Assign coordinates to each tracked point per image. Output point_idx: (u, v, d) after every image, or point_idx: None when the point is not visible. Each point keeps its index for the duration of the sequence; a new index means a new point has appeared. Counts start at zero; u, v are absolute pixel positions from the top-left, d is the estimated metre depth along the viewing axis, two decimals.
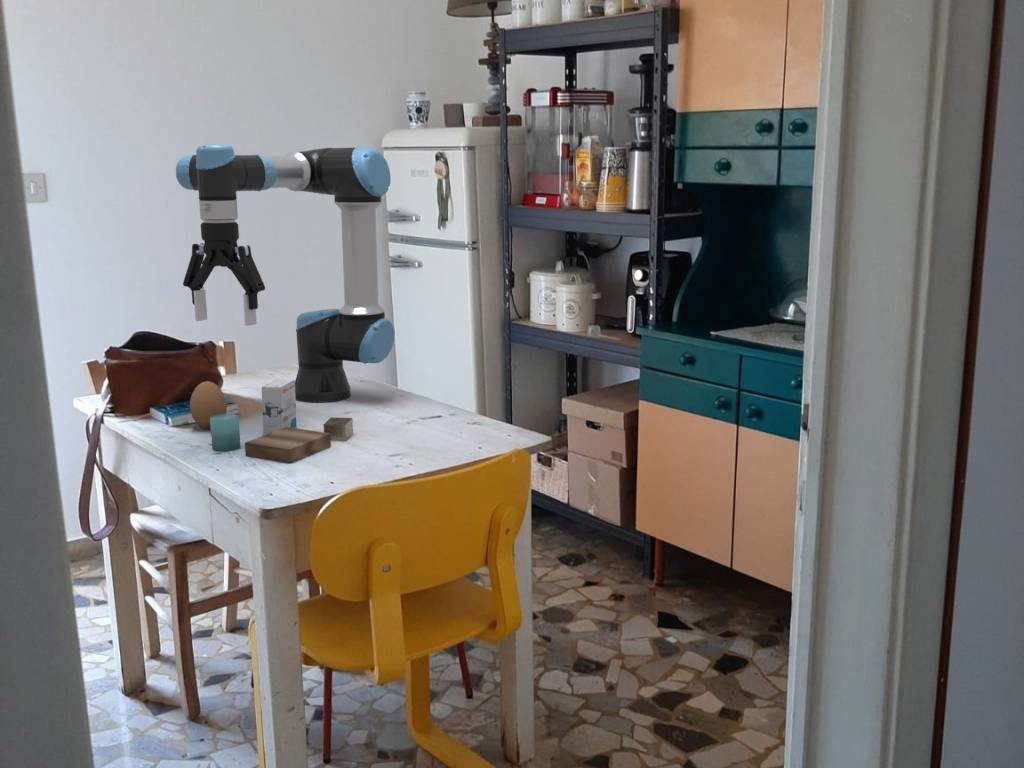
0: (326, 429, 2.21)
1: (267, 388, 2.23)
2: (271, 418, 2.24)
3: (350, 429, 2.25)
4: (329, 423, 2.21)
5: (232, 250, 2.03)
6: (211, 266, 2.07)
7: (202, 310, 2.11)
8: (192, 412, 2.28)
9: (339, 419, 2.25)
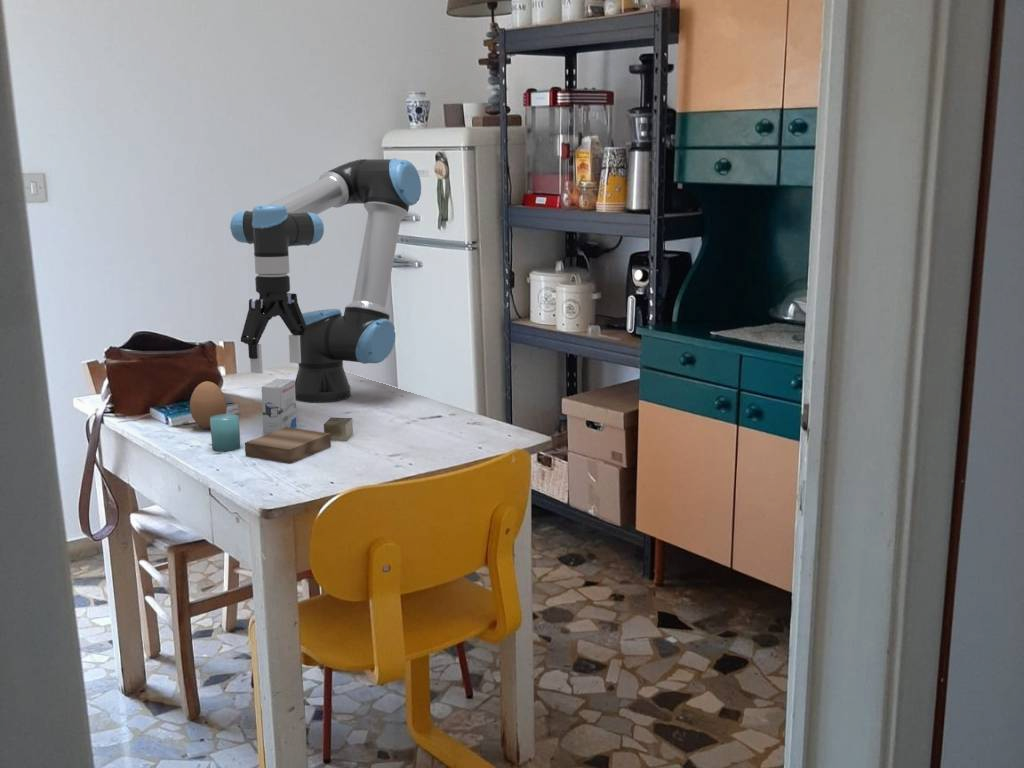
0: (326, 429, 2.21)
1: (267, 388, 2.23)
2: (271, 418, 2.24)
3: (350, 429, 2.25)
4: (329, 423, 2.21)
5: None
6: (283, 315, 2.26)
7: (294, 353, 2.31)
8: (192, 412, 2.28)
9: (339, 419, 2.25)
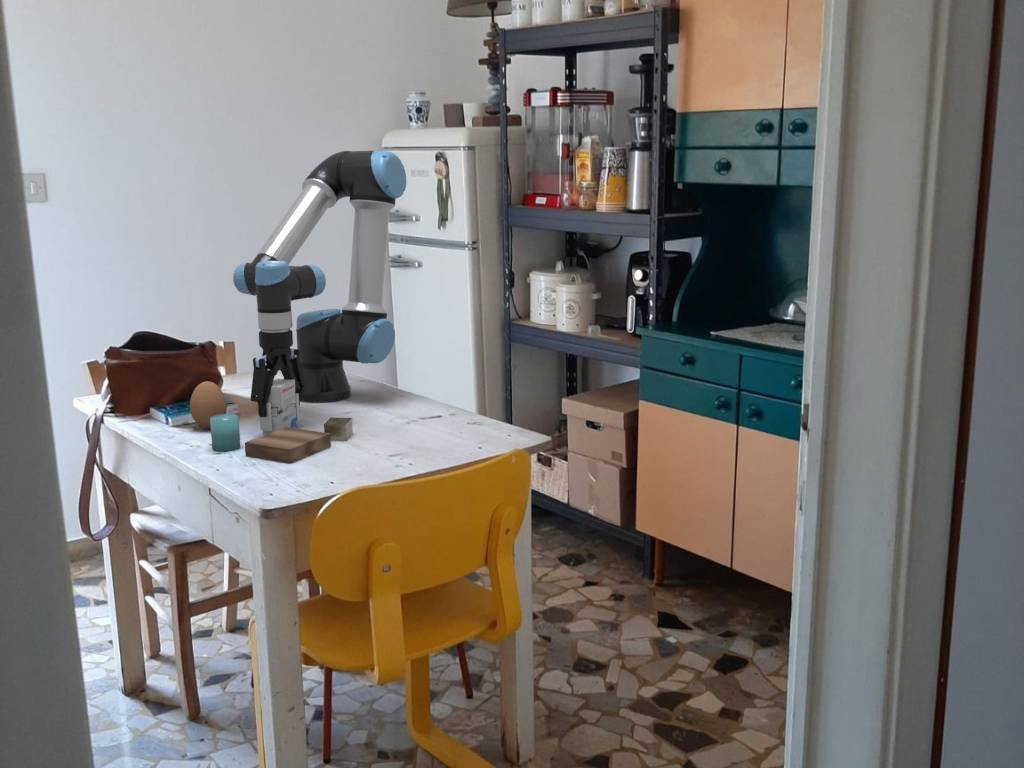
0: (326, 429, 2.21)
1: None
2: (271, 417, 2.24)
3: (350, 429, 2.25)
4: (329, 423, 2.21)
5: None
6: (284, 370, 2.28)
7: None
8: (192, 412, 2.28)
9: (339, 419, 2.25)
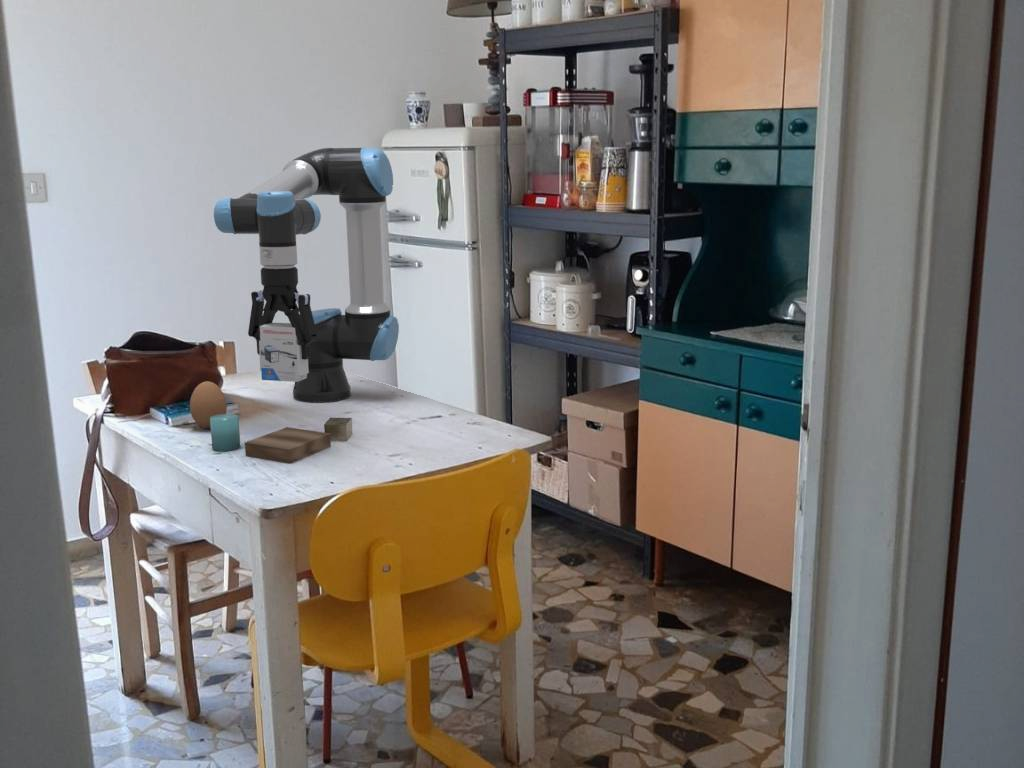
0: (327, 429, 2.21)
1: None
2: None
3: (350, 429, 2.25)
4: (330, 423, 2.21)
5: (292, 296, 2.03)
6: (272, 312, 2.08)
7: None
8: (192, 412, 2.28)
9: (339, 419, 2.25)
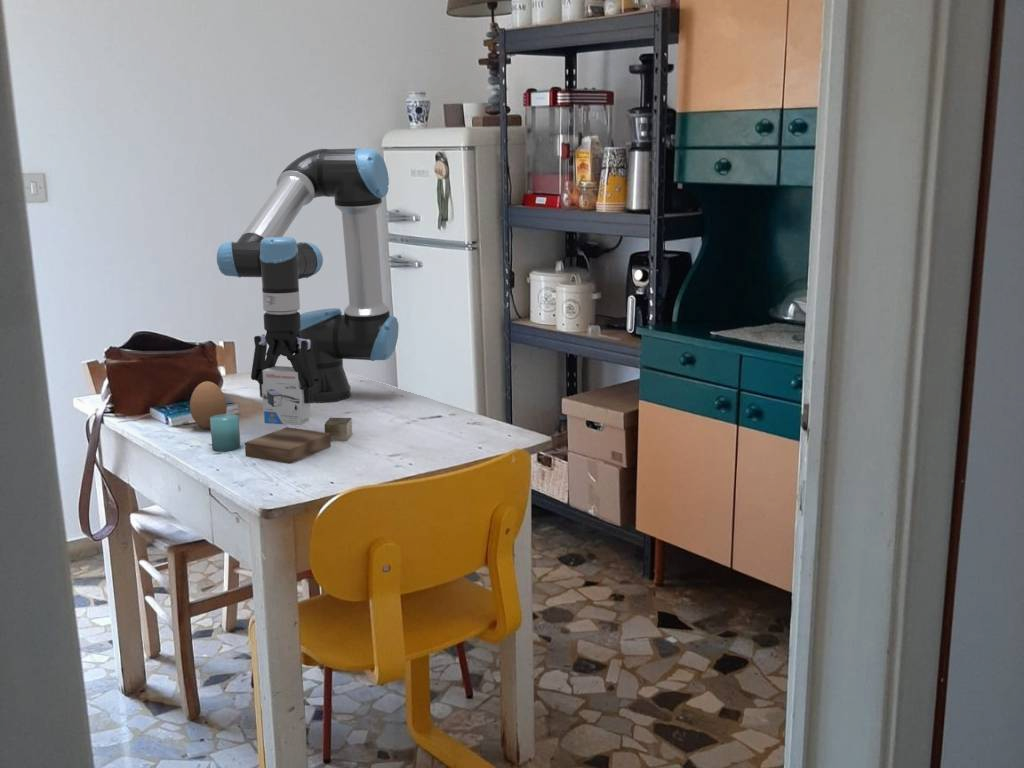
0: (327, 429, 2.21)
1: None
2: None
3: (350, 429, 2.25)
4: (330, 423, 2.21)
5: (295, 341, 2.05)
6: (275, 356, 2.10)
7: None
8: (192, 412, 2.28)
9: (339, 419, 2.25)
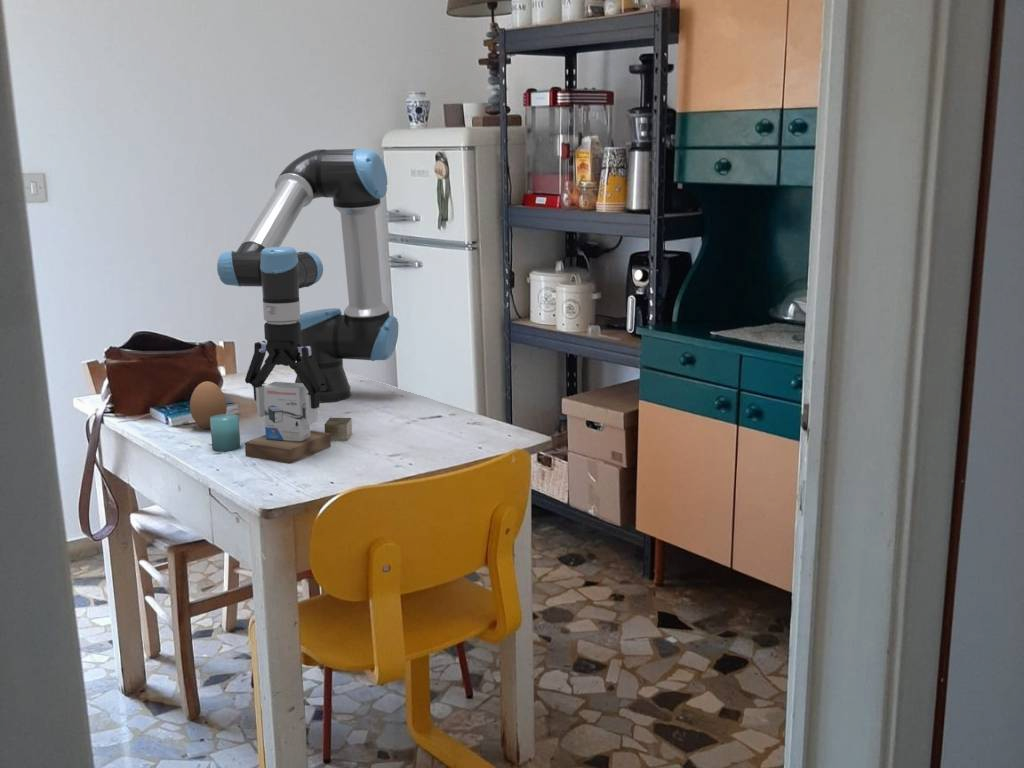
0: (327, 429, 2.21)
1: (302, 388, 2.09)
2: (305, 419, 2.11)
3: (350, 429, 2.25)
4: (330, 423, 2.21)
5: (295, 350, 2.06)
6: (273, 364, 2.11)
7: (263, 406, 2.14)
8: (192, 412, 2.28)
9: (338, 419, 2.25)
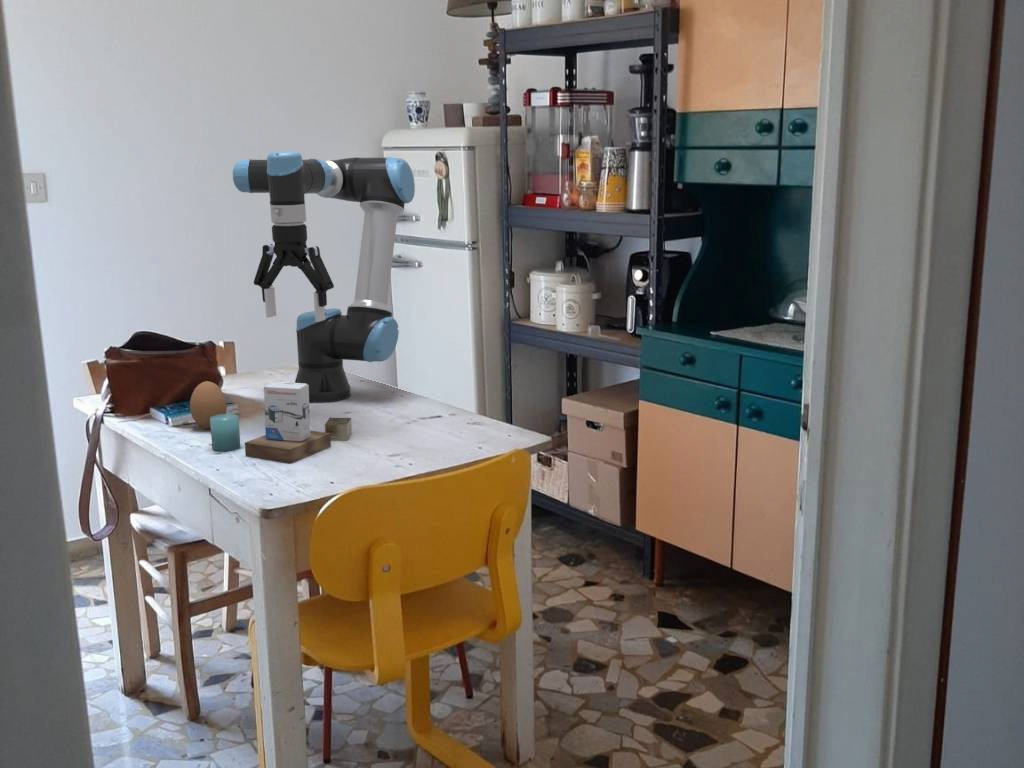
0: (327, 429, 2.21)
1: (302, 388, 2.09)
2: (305, 419, 2.11)
3: (350, 429, 2.25)
4: (330, 423, 2.21)
5: (302, 251, 2.16)
6: (281, 266, 2.20)
7: (272, 307, 2.24)
8: (192, 412, 2.28)
9: (338, 419, 2.25)
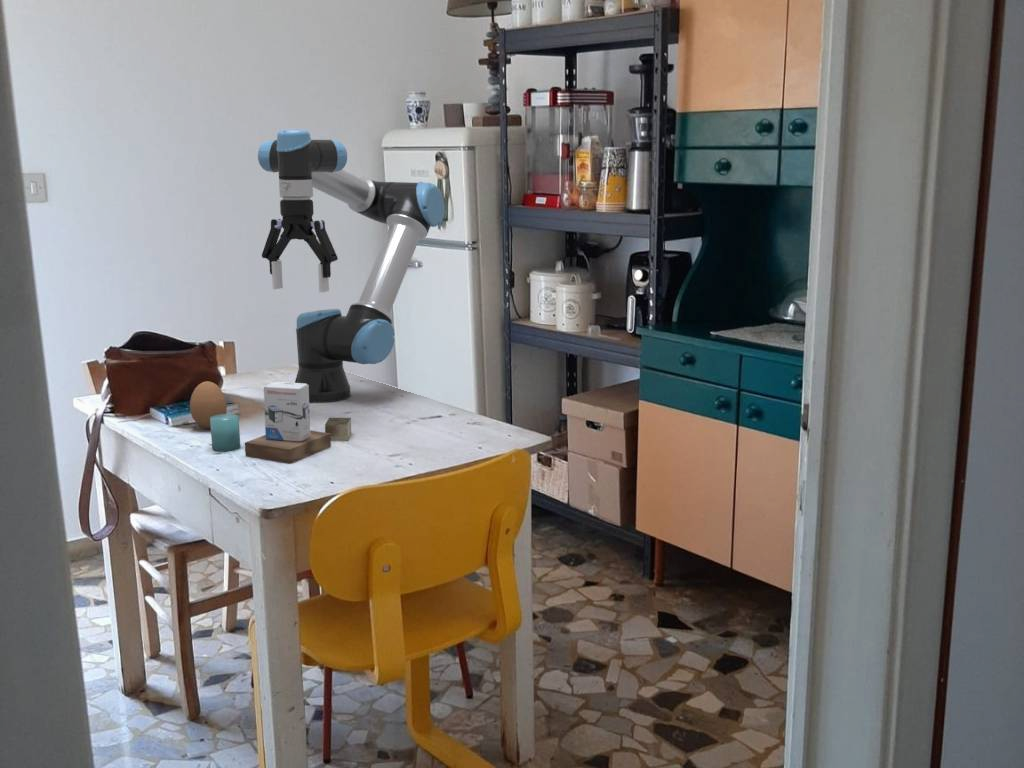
0: (328, 429, 2.21)
1: (302, 388, 2.09)
2: (305, 419, 2.11)
3: (350, 429, 2.25)
4: (330, 423, 2.21)
5: (308, 224, 2.26)
6: (288, 239, 2.31)
7: (278, 279, 2.34)
8: (192, 412, 2.28)
9: (338, 419, 2.25)
